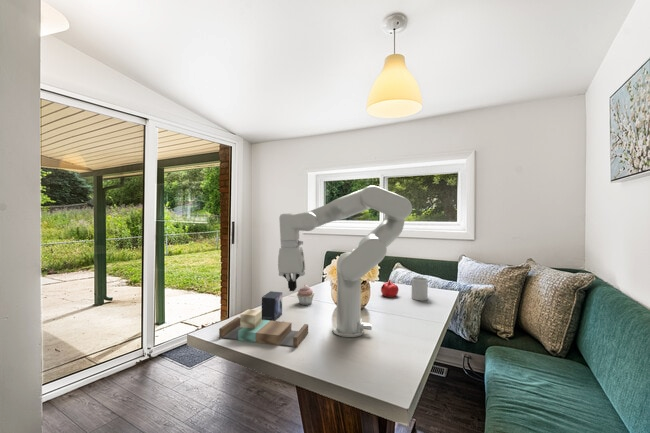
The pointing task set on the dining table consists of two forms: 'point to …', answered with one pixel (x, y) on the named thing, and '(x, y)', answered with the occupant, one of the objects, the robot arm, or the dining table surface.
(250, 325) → the beech block
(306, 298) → the cupcake
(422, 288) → the mug
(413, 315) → the dining table surface
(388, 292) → the pomegranate
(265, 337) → the board
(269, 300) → the small box
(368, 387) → the dining table surface
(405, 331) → the dining table surface
